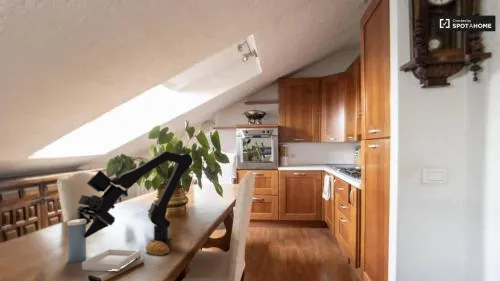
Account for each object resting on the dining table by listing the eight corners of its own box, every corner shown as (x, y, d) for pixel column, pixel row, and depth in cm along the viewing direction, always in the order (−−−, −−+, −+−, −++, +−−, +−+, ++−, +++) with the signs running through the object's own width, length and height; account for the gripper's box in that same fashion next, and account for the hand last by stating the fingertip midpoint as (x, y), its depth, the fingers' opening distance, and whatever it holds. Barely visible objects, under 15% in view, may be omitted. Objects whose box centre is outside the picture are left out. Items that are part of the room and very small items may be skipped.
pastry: (173, 252, 109) (173, 242, 109) (158, 258, 103) (158, 247, 104) (158, 247, 114) (158, 237, 115) (143, 252, 109) (143, 242, 109)
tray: (108, 255, 107) (108, 248, 107) (140, 256, 104) (140, 250, 104) (82, 269, 94) (82, 262, 94) (117, 272, 91) (117, 264, 91)
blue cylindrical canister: (76, 256, 106) (76, 218, 107) (90, 257, 105) (90, 219, 105) (63, 262, 100) (62, 222, 101) (78, 263, 99) (77, 223, 100)
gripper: (82, 185, 114) (49, 219, 104) (106, 188, 103) (73, 226, 93) (102, 202, 120) (73, 235, 111) (127, 206, 109) (97, 244, 100)
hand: (78, 235), depth 103 cm, fingers open, 9 cm apart
